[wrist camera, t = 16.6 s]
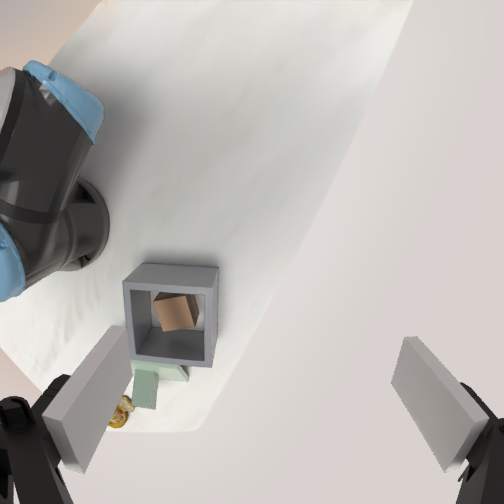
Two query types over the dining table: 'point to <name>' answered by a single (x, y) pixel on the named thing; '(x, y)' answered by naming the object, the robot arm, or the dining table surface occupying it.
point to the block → (176, 310)
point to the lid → (152, 380)
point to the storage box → (176, 341)
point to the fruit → (121, 413)
